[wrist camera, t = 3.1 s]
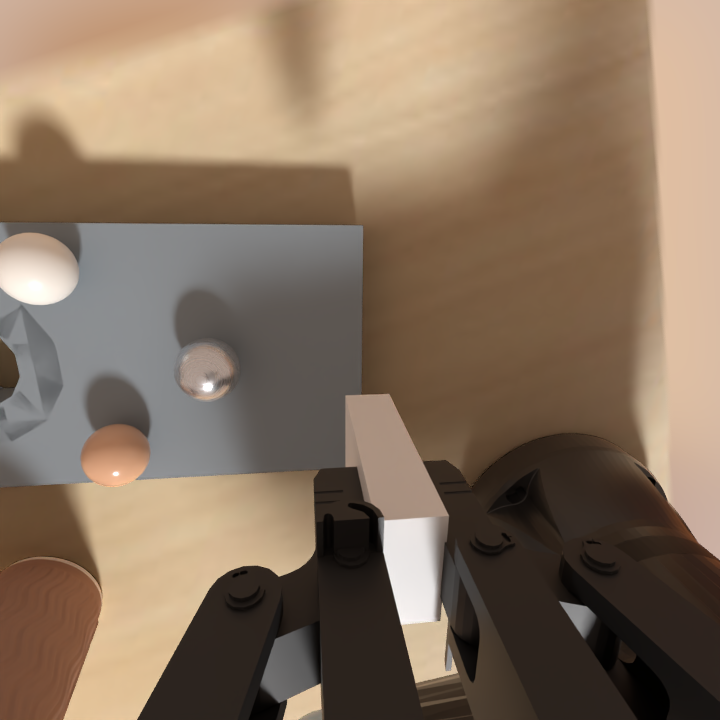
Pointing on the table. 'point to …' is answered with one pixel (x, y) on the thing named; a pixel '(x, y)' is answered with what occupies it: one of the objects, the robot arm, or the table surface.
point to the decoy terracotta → (115, 455)
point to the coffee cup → (44, 635)
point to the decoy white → (37, 269)
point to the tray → (173, 332)
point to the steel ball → (207, 369)
